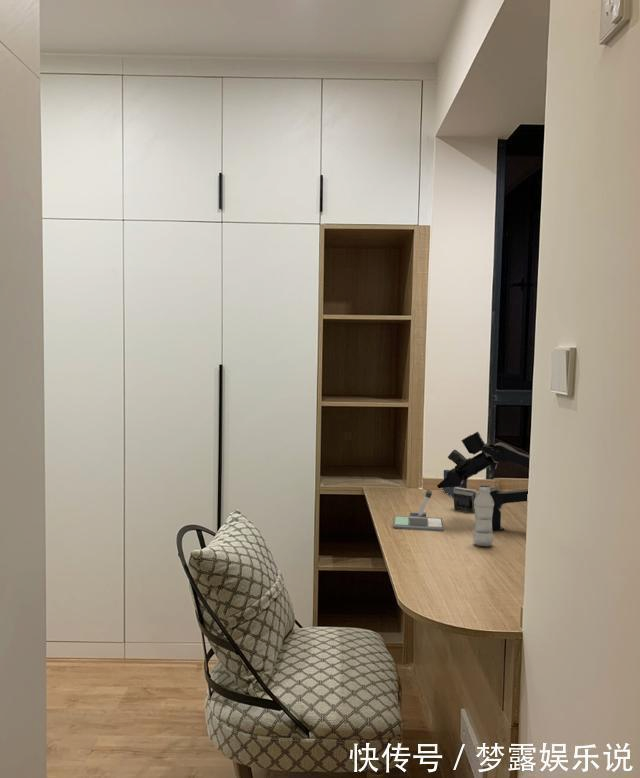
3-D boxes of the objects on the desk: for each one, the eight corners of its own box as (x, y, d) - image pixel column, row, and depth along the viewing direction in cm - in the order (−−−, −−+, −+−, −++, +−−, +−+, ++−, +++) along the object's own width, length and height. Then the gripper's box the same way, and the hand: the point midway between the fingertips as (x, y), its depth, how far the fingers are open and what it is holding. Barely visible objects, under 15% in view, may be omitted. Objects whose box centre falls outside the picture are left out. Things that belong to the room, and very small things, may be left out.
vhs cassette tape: (466, 502, 262) (467, 478, 262) (459, 502, 262) (460, 479, 261) (448, 491, 280) (449, 469, 280) (442, 491, 280) (443, 469, 279)
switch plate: (442, 520, 236) (442, 510, 235) (443, 531, 222) (444, 521, 221) (394, 517, 238) (394, 508, 238) (392, 528, 224) (393, 518, 224)
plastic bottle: (496, 548, 205) (498, 488, 203) (477, 549, 203) (479, 489, 202) (488, 541, 211) (490, 483, 209) (469, 542, 210) (471, 484, 208)
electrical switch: (478, 511, 249) (478, 488, 247) (473, 515, 244) (473, 492, 243) (455, 507, 254) (455, 485, 252) (451, 511, 249) (450, 489, 248)
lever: (419, 519, 232) (431, 491, 230) (419, 523, 228) (431, 494, 226) (415, 517, 232) (427, 489, 231) (415, 521, 228) (427, 492, 226)
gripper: (469, 441, 237) (435, 461, 243) (458, 449, 220) (422, 470, 226) (485, 467, 235) (451, 486, 241) (475, 476, 218) (438, 497, 224)
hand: (440, 484), depth 233 cm, fingers open, 9 cm apart
